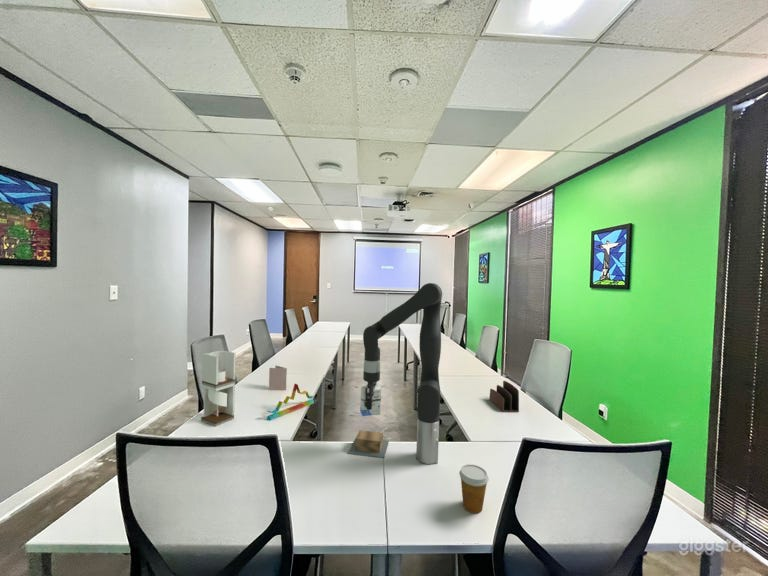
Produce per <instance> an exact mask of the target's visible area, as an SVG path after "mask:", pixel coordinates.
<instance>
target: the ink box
mask: <svg viewBox="0 0 768 576" xmlns="http://www.w3.org/2000/svg"><path fill="white" fill-rule="evenodd" d="M365 389H366V385H362V386H361V389H360V414H361V416H362V417H367V416H369V417H370V416H379V415H381V413H382V412H381V411H382V410H381V409H382V408H381V407H382V406H381V405H382V404H381V403H382V388H381V387H380V385H377V386H376V387H375V389H374V396H373V397H372V409H371V410H367V401H365ZM372 393H373V392H371V394H372ZM368 398H370V397H369V396H368Z"/></svg>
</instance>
